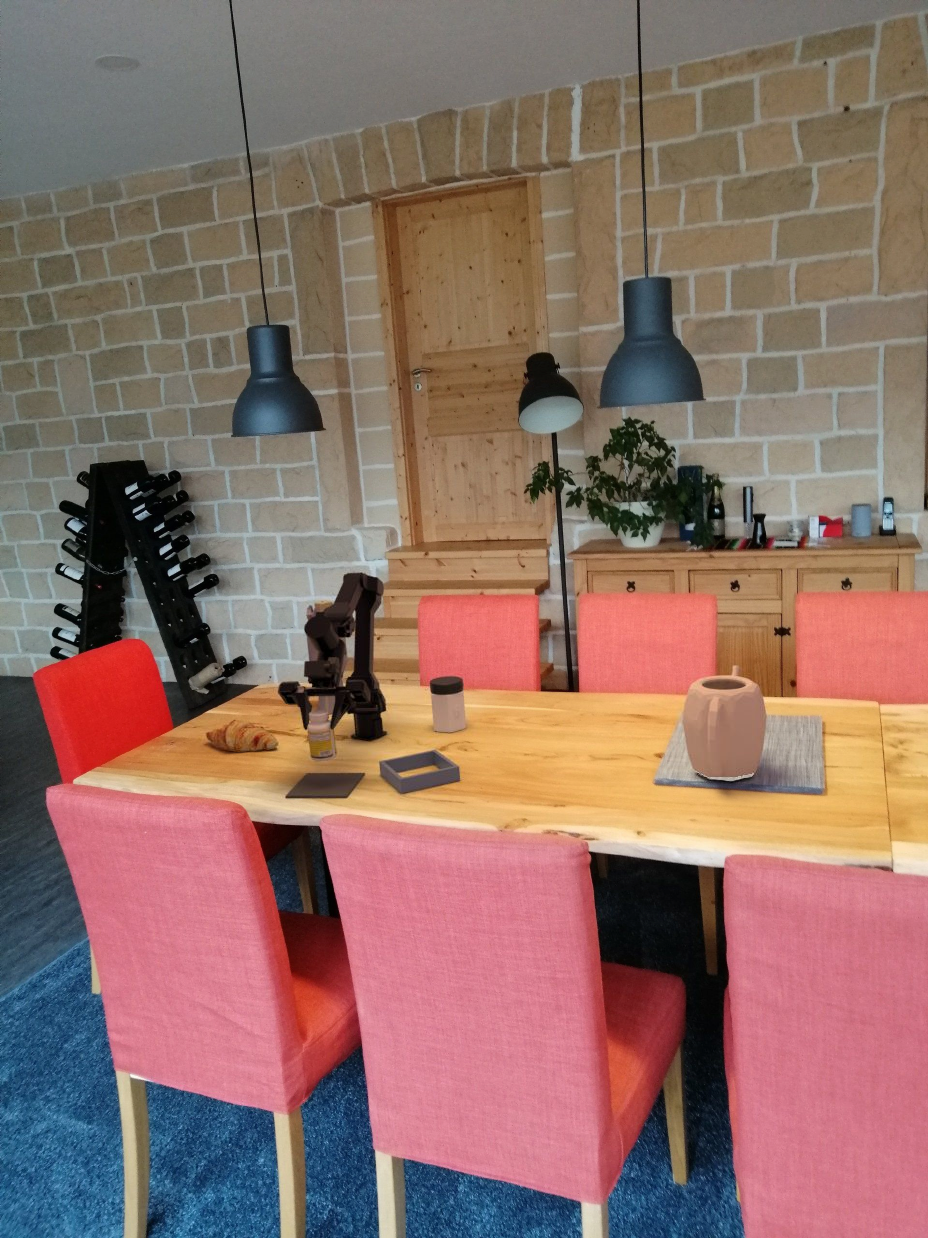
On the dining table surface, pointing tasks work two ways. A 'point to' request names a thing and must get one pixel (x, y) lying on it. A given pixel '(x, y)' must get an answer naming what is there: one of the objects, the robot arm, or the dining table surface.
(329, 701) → the vase
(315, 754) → the supplement bottle
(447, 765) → the grey square frame
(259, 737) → the croissant
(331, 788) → the mat
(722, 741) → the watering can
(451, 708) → the jar
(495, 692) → the dining table surface
